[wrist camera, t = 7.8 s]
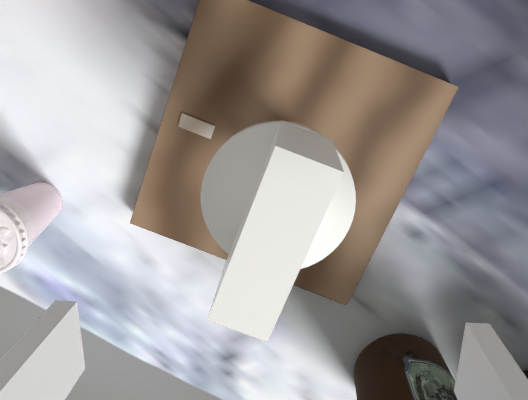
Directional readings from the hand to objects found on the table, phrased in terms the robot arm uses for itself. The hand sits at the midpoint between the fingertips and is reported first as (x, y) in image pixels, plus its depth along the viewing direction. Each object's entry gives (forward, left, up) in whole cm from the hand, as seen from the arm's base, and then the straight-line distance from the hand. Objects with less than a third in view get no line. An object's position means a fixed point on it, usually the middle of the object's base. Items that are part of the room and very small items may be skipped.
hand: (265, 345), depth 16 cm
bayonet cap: (0, 0, -17) cm, 17 cm away
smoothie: (+20, +13, -29) cm, 38 cm away
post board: (0, 0, -29) cm, 29 cm away
